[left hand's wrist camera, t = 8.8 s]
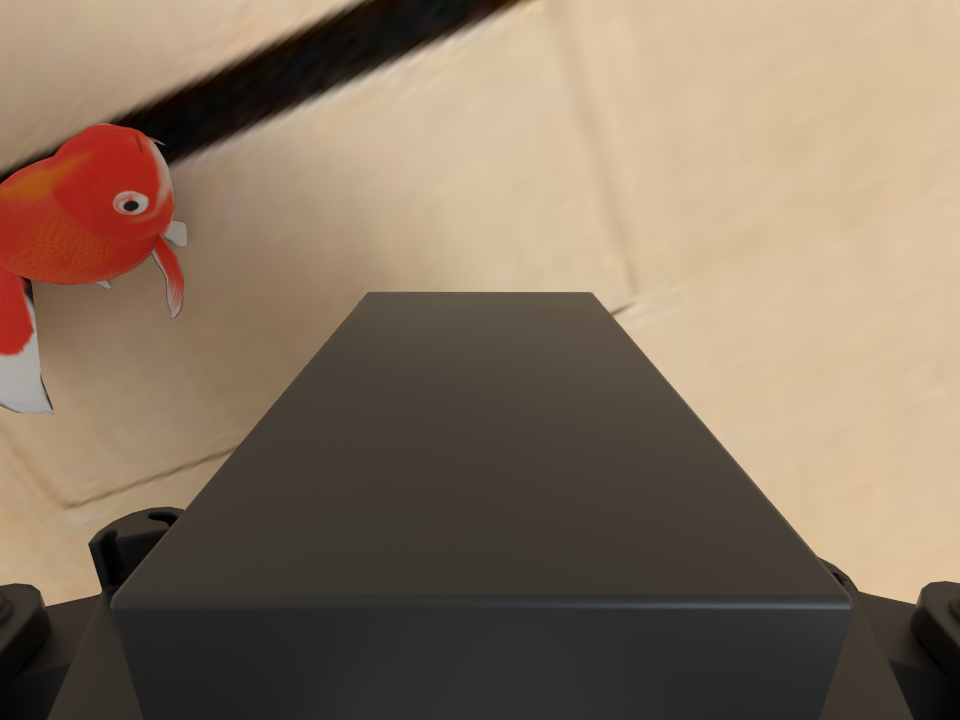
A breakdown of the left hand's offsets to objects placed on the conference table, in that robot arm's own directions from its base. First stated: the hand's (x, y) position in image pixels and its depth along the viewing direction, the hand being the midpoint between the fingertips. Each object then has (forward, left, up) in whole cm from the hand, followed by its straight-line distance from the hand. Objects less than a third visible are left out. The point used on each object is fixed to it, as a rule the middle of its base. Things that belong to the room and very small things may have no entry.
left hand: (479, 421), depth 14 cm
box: (+8, +2, -2) cm, 9 cm away
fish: (+2, -17, -12) cm, 21 cm away
